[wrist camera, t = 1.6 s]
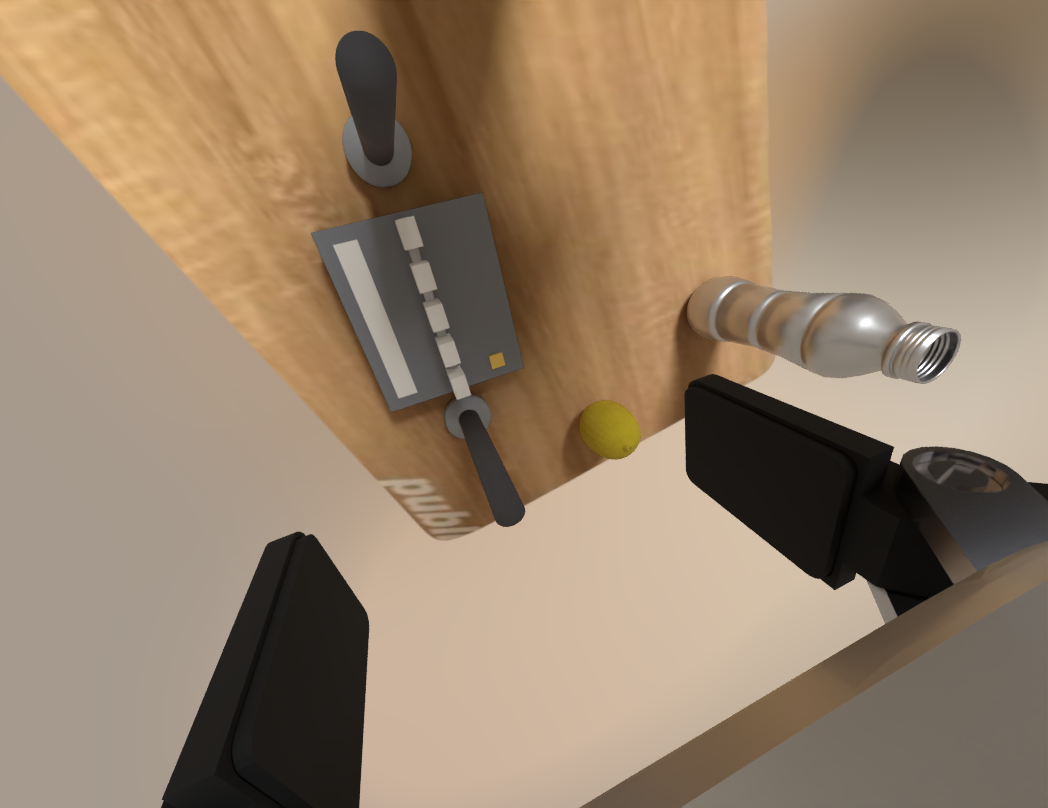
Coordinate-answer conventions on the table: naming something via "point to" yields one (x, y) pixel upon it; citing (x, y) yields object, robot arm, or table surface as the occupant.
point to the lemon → (609, 429)
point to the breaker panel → (397, 306)
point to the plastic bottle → (822, 330)
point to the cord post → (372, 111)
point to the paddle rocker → (433, 305)
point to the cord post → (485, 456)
